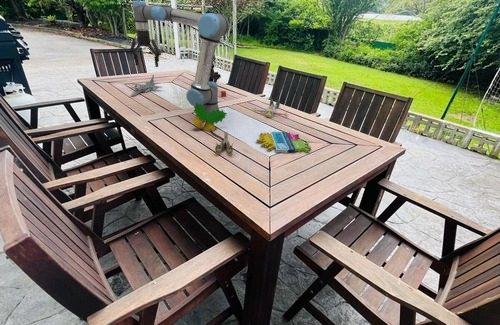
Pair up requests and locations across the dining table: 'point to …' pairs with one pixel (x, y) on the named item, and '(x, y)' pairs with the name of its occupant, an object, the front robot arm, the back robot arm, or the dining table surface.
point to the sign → (283, 142)
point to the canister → (223, 93)
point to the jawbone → (224, 145)
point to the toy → (271, 109)
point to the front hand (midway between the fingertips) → (147, 66)
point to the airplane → (145, 87)
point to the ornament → (207, 117)
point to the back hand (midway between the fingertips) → (210, 86)
